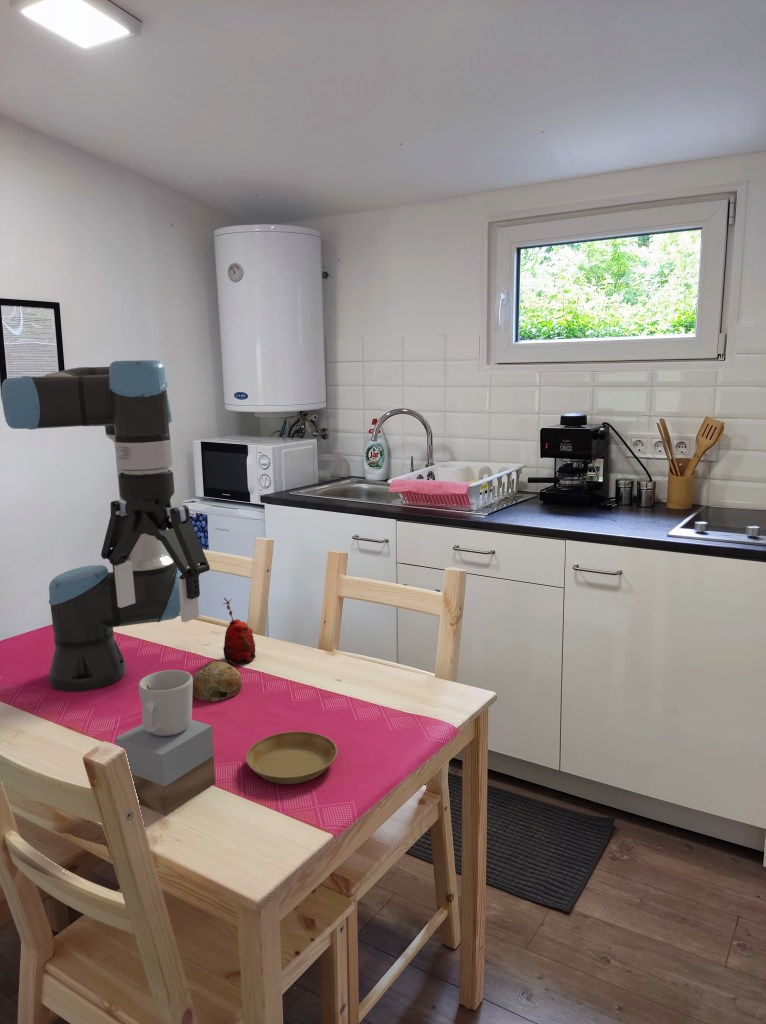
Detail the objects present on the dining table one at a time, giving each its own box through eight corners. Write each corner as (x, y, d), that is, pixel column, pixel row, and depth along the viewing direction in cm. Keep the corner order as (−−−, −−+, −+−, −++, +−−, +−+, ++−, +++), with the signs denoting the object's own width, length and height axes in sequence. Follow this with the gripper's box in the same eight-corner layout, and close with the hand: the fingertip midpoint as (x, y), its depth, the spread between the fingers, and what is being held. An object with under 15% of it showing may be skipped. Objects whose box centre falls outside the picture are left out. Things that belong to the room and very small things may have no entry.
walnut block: (121, 797, 114) (118, 768, 113) (171, 767, 122) (168, 739, 121) (166, 817, 108) (163, 786, 107) (215, 784, 117) (213, 755, 116)
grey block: (118, 768, 112) (115, 738, 112) (168, 739, 121) (166, 711, 120) (164, 786, 107) (161, 755, 106) (213, 755, 116) (211, 725, 115)
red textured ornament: (259, 662, 164) (255, 597, 161) (227, 668, 161) (223, 602, 158) (251, 651, 171) (248, 588, 168) (221, 656, 168) (216, 592, 165)
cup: (173, 753, 107) (169, 701, 105) (122, 749, 108) (117, 698, 107) (204, 718, 117) (201, 670, 116) (157, 714, 119) (153, 667, 117)
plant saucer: (293, 736, 131) (293, 722, 131) (356, 762, 122) (355, 748, 122) (227, 771, 120) (226, 756, 120) (291, 803, 111) (290, 787, 111)
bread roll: (196, 720, 146) (198, 692, 141) (184, 682, 153) (185, 654, 148) (245, 708, 150) (248, 681, 146) (231, 672, 157) (233, 645, 153)
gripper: (67, 468, 109) (81, 606, 113) (188, 479, 96) (199, 634, 101) (109, 462, 116) (122, 593, 120) (228, 471, 103) (237, 617, 107)
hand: (157, 612), depth 110 cm, fingers open, 13 cm apart
